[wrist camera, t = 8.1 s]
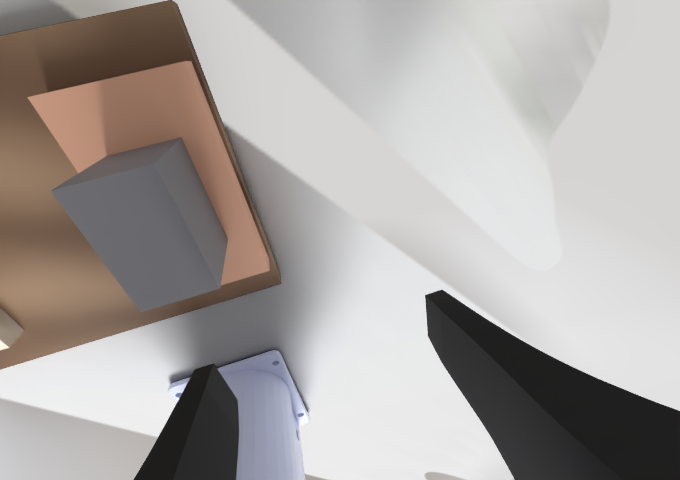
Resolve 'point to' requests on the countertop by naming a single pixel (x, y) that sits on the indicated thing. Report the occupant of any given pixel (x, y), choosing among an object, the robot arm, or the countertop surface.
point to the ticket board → (55, 168)
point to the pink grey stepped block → (153, 184)
